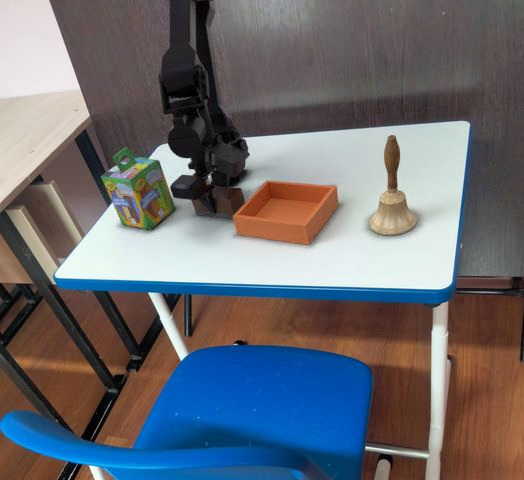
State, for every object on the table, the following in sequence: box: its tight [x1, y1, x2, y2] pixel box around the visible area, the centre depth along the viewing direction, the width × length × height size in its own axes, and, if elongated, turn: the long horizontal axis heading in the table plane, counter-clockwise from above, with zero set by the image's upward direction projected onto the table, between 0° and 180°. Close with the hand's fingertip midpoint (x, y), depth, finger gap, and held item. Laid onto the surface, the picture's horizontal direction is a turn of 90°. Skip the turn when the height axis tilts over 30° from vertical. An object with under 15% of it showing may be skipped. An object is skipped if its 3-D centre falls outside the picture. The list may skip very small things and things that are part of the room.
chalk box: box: [100, 146, 177, 231], centre depth 110 cm, size 9×9×15 cm
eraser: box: [191, 186, 246, 220], centre depth 109 cm, size 10×4×4 cm, turn 61°
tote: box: [232, 180, 340, 246], centre depth 101 cm, size 16×14×4 cm
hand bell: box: [369, 134, 418, 236], centre depth 90 cm, size 8×8×16 cm
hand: (219, 207), depth 110 cm, fingers closed on eraser, 4 cm apart
